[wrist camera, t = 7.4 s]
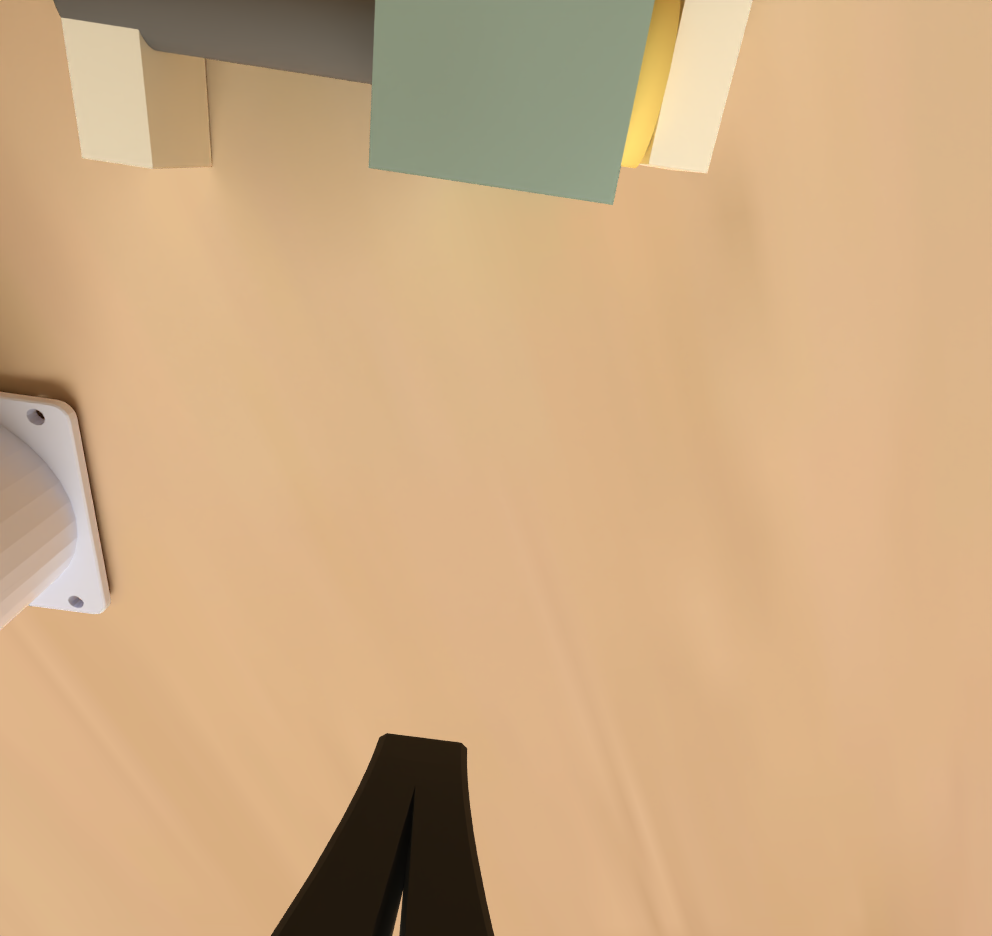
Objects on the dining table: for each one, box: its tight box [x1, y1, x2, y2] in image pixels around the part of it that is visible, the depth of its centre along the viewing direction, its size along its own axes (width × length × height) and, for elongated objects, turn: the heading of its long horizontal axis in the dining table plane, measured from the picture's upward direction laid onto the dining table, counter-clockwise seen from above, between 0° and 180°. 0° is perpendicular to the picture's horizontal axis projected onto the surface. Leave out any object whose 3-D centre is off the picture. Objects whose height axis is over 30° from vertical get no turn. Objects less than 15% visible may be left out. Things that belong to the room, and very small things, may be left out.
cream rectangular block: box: [61, 18, 212, 169], centre depth 13 cm, size 2×6×3 cm, turn 173°
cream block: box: [639, 0, 753, 173], centre depth 13 cm, size 1×3×3 cm, turn 172°
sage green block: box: [369, 0, 655, 205], centre depth 12 cm, size 4×4×6 cm
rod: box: [54, 0, 680, 168], centre depth 13 cm, size 13×3×3 cm, turn 82°
